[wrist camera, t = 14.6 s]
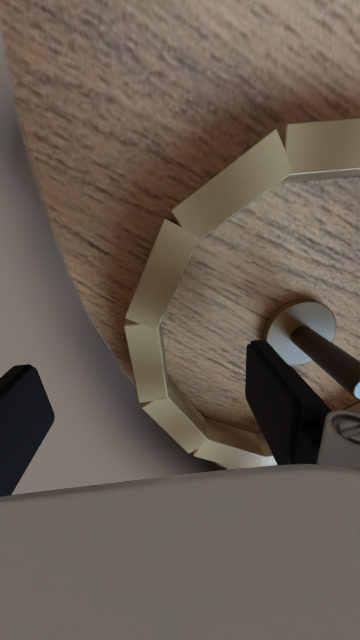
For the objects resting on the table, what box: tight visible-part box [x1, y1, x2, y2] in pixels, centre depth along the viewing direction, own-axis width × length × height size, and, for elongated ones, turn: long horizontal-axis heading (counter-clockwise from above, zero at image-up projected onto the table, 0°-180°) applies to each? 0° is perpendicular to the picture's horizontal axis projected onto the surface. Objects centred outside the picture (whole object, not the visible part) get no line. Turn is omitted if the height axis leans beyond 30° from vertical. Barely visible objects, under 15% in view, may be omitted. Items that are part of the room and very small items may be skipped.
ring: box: [124, 118, 360, 469], centre depth 12 cm, size 19×19×2 cm
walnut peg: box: [263, 299, 360, 399], centre depth 11 cm, size 4×4×5 cm
